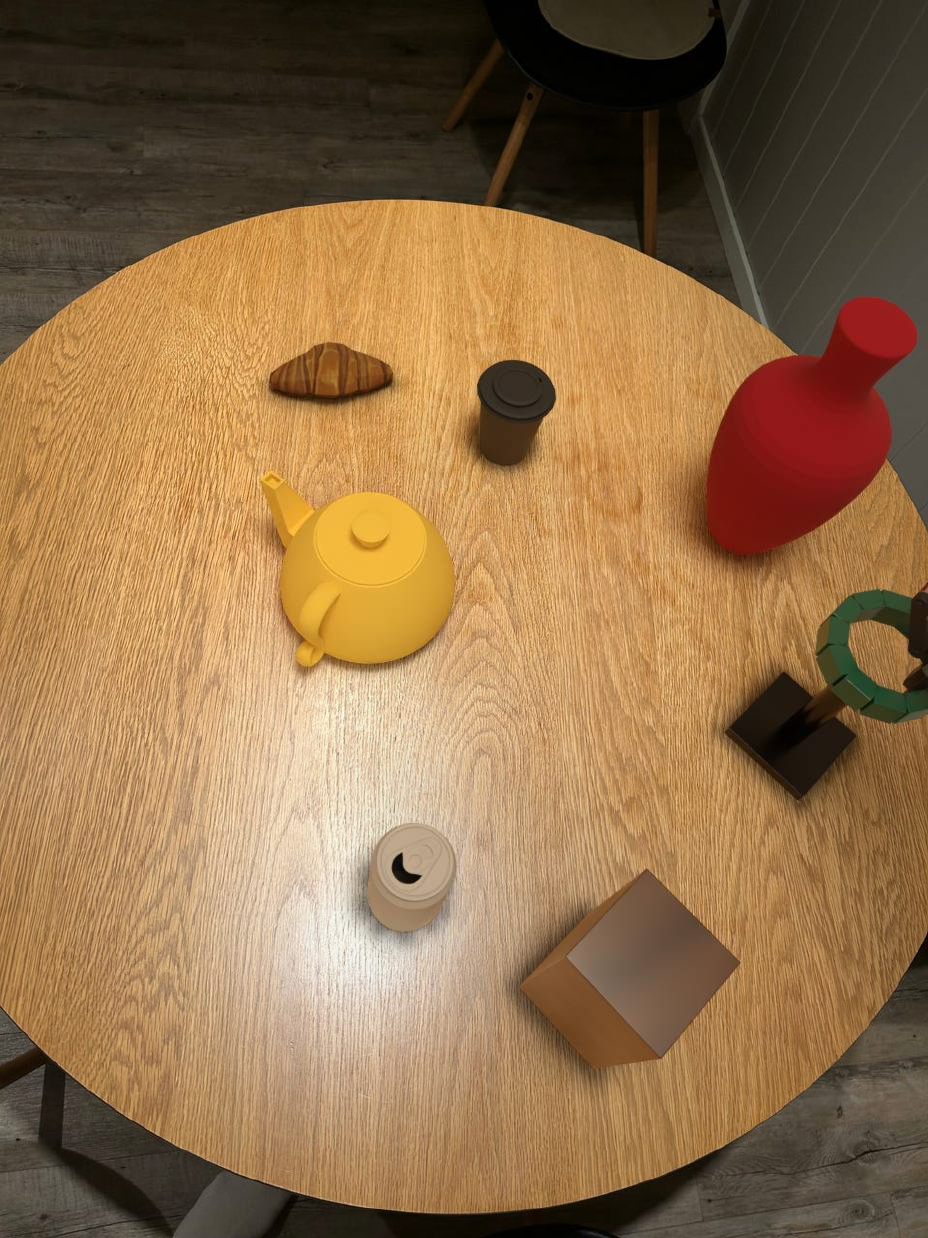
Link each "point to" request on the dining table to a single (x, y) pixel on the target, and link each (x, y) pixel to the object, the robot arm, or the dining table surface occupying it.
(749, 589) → the dining table surface
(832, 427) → the vase
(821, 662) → the ring
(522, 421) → the coffee cup
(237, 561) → the dining table surface
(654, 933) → the brown rectangular block
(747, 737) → the post
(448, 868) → the beverage can
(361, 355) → the croissant
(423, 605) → the teapot
